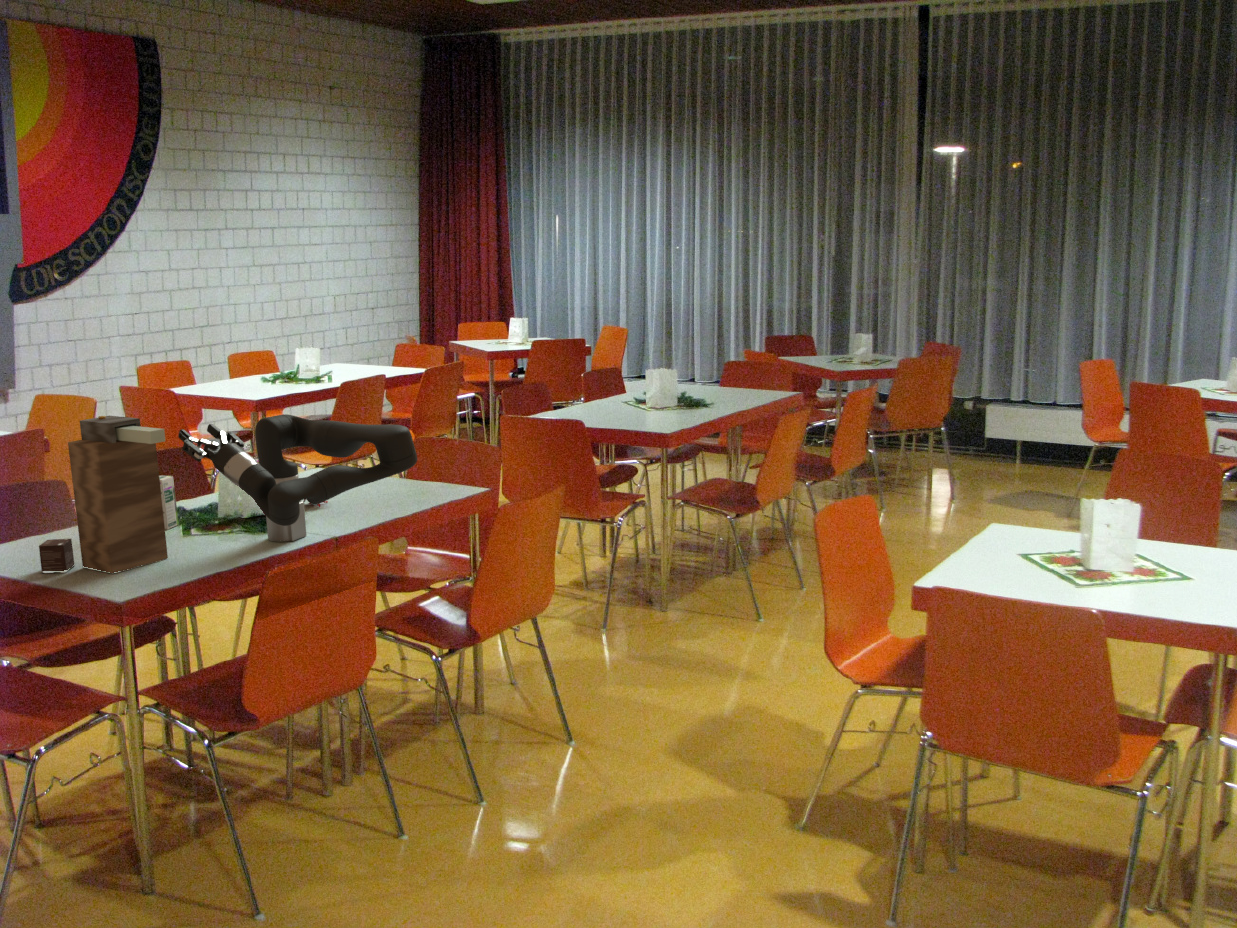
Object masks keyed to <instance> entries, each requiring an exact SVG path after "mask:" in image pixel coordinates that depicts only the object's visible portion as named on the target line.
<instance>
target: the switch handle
mask: <svg viewBox="0 0 1237 928" xmlns="http://www.w3.org/2000/svg"><path fill="white" fill-rule="evenodd" d="M165 431H166V430H165V428H158V427H148V426H141V427H140V426H130V425H123V426H117V427H115V435H116V440H120V441H129V442H138V443H147V444H154V443H156V444H158V443H162V442H163V443H164V442H166V433H165Z"/></svg>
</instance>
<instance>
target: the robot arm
mask: <svg viewBox="0 0 1237 928" xmlns="http://www.w3.org/2000/svg"><path fill="white" fill-rule="evenodd" d="M254 429H255V430H254V439H255V445H256V451H257V452H256V453H257V459H258V461H259V463H258V462H257V461H256V460H255V459H256V458H254V457H253V456H252V455H250V454H249V453H248V452H247V451H246V450H244V447H245V445H246V444H245V442H244V441H243V440H242V439H240V437H239V436H237V435H236V433H234V432H233V431H231V430H228V431H227V432H226V431H224V430H221V429H220V428H218V427H217V426H216V425H214V424H212V423H209V424H208V425H207V427H206V431H207V433H209V435H211V436H212V437H213V438H214V439H209V440H208V439H204V438H199V439H198V438H194V437H193V436H192V435H191V434H190V433H189V432H188V431H186V430H185V429H184V428H182V429H179V432H178V439H179V440H181V442H183V445H182V448H181V450H182V451H183V452H184V453H186V454H187V455H188V456H190V457H191V458H192V459H193V460H195V461H196V462H202V460H203V459H205V458H206V459H208V460H210V461H211V462H212V465H213V467H214V468H215V470H217V471H218V472H219V473H221V474H222V475H223V476H224V477H225V478H226V479H228V480H229V481H230V482H231V483H233V484H234V486H235V485H237V486H239V487H240V488H241V489H242V490H244V491H245V492H246V493H247V494H248V495H250V496H251V497H252V498H253V499H254V500H255V502H256V503H257V505H258V506H259V507H260V509H261V510H262V511H263V513H264V514H265V515H264V516H265V517H266V518H265V519H266V529H267V539H268V541H271V542H277V543H278V542H295V541H297V540H299V539H302V538H305V537H306V536H307V526H306V525H307V524H306V513H305V504H304V503H305V502H303V501H304V499H306V501H307V502H308V503H311V504H310V505H315V506H318V505H317V504H320V505H321V504H322V503H324V501H325V502H326V501H328V500H330V499H332V498H333V499H334V497H336V496H339V495H341V494H343V493H346V492H347V491H349V490H353V489H355V488H359V487H361V486H365V485H368V484H371V483H374V482H377V481H381V480H383V479H387V478H390V477H392V476H395V475H398V474H401V473H404V472H405V471H408V470H410V469H411V468H413V467H414V466H415V465H416V464H417V463H418V455H417V454H418V453H417V451H416V447H415V443H414V439H413V435H412V433H411V431H410V429H409V428H408V427H407V426H404V425H402V424H365V423H364V424H363V423H353V422H352V423H351V422H346V421H339V420H327V419H326V420H324V419H323V420H322V419H316V420H315V419H314V420H312V419H307V418H304V417H300V416H296V415H293V414H278V415H272V416H267V417H262V418H260V419H259V420H258V421H257V422H256V425H255V428H254ZM194 443H195V444H197V445H195V444H194ZM366 443H370V444H372V445H374V447H375V450H376V453H377V455H378V460H379V463H378V464H376V465H373V466H370V467H359V466H358V467H357V466H351V465H350V466H349V465H342V464H341V465H340V464H338V465H332V466H327V467H325V468H323V469H321V470H319V471H316V472H315V473H312V474H310V475H309V476H306V477H300V478H299V467H298V464H297V463H296V462H294V461H288V460H286V459H284V458H285V457H284V455H283V450H287V449H292V448H298V447H299V448H303V447H305V448H307V447H308V448H312V449H313V450H314V451H315V452H316V453H318V454H320V455H322V456H325V457H332V458H341V459H342V458H343V459H345V458H349V457H350V456H353V455H354V454H355V453H356V452H358V451H359V450H360V449H361V448H362V447H363V446H364V445H365V444H366ZM202 444H203V448H202Z"/></svg>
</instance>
